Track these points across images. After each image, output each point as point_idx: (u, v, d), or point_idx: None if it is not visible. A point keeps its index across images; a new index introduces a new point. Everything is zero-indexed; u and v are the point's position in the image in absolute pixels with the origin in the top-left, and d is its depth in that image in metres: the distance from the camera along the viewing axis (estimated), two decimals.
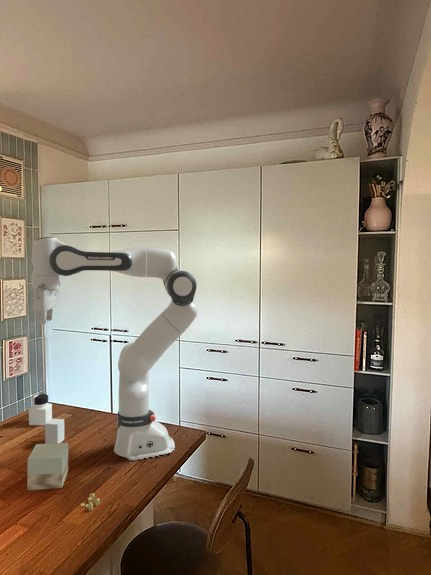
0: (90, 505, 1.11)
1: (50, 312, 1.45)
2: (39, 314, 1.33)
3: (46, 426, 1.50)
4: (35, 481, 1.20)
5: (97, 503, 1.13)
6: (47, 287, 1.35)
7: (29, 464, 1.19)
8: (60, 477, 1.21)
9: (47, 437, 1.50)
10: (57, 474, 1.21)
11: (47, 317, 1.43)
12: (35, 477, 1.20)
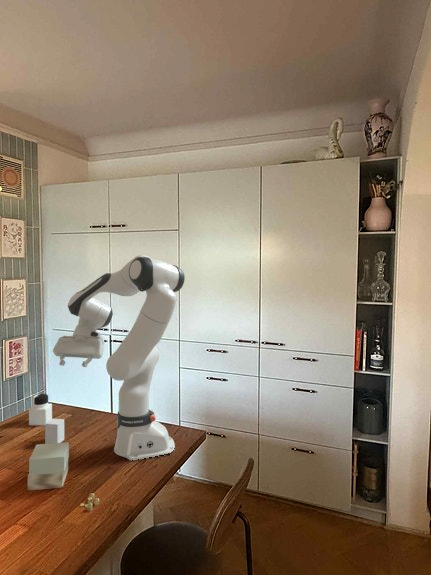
0: (89, 505, 1.11)
1: None
2: None
3: (46, 426, 1.50)
4: (36, 481, 1.20)
5: (97, 503, 1.13)
6: (72, 336, 1.66)
7: (31, 464, 1.19)
8: (60, 477, 1.21)
9: (47, 437, 1.50)
10: (57, 474, 1.21)
11: None
12: (35, 477, 1.20)
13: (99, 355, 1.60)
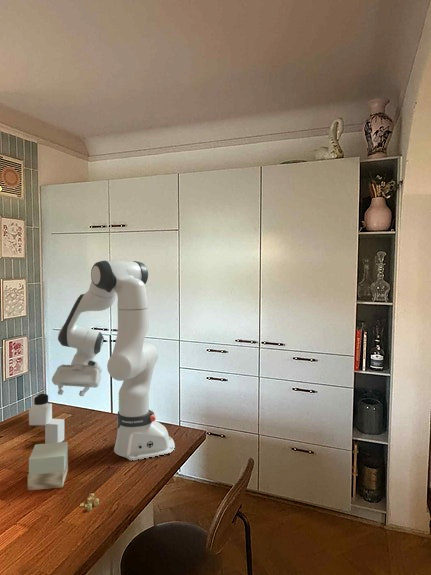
0: (89, 505, 1.11)
1: None
2: None
3: (46, 426, 1.50)
4: (36, 481, 1.20)
5: (96, 503, 1.13)
6: None
7: (30, 464, 1.20)
8: (60, 477, 1.22)
9: (47, 437, 1.50)
10: (57, 474, 1.21)
11: None
12: (35, 477, 1.20)
13: (95, 384, 1.65)
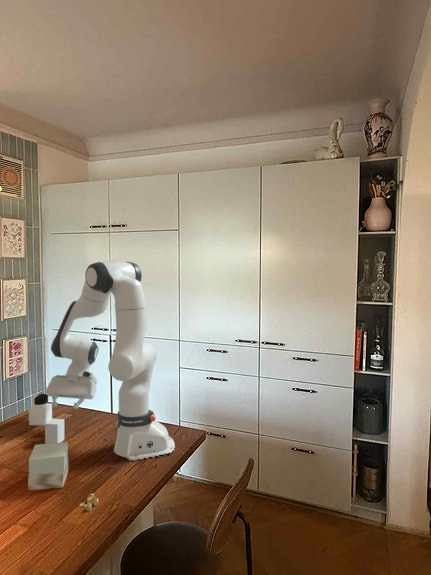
0: (89, 505, 1.11)
1: None
2: None
3: (46, 426, 1.50)
4: (36, 481, 1.20)
5: (96, 503, 1.13)
6: None
7: (31, 464, 1.19)
8: (61, 477, 1.22)
9: (47, 437, 1.50)
10: (58, 474, 1.21)
11: None
12: (35, 477, 1.20)
13: (90, 396, 1.60)
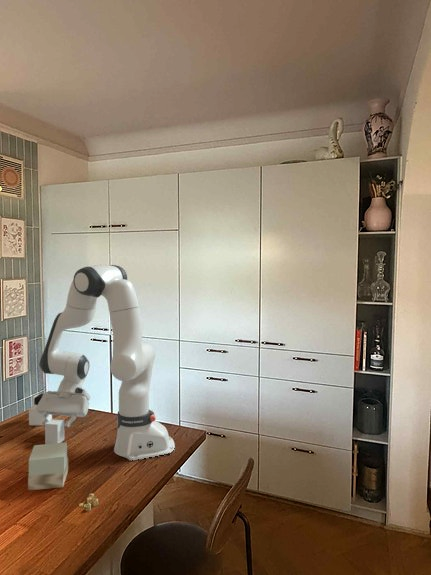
0: (88, 505, 1.11)
1: None
2: None
3: (46, 426, 1.50)
4: (36, 481, 1.20)
5: (95, 503, 1.13)
6: None
7: (30, 465, 1.19)
8: (61, 477, 1.22)
9: (47, 437, 1.50)
10: (58, 474, 1.21)
11: None
12: (35, 477, 1.20)
13: (83, 413, 1.54)
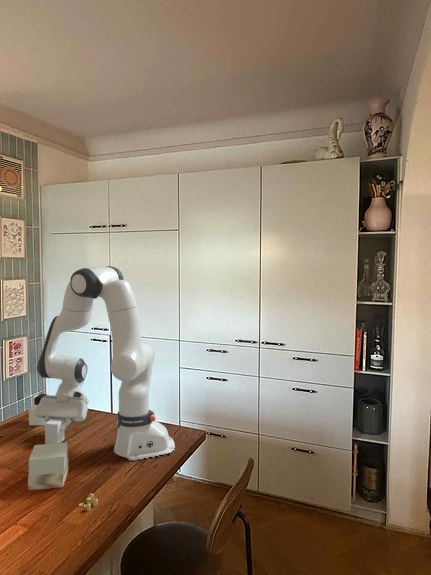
0: (88, 505, 1.11)
1: None
2: None
3: (46, 426, 1.50)
4: (36, 481, 1.20)
5: (95, 504, 1.13)
6: None
7: (30, 465, 1.19)
8: (61, 477, 1.22)
9: (47, 437, 1.50)
10: (58, 474, 1.21)
11: None
12: (35, 477, 1.20)
13: (81, 418, 1.53)
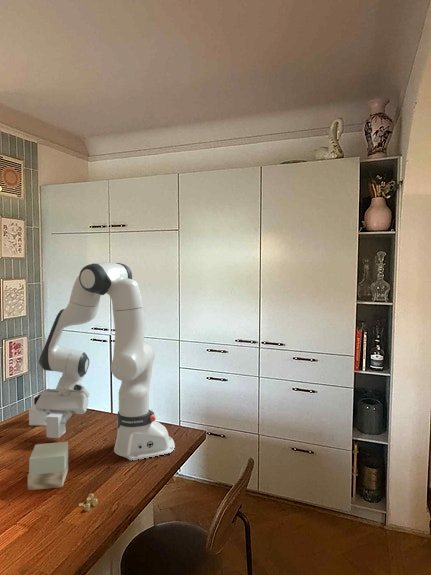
0: (87, 505, 1.11)
1: None
2: None
3: (47, 419, 1.50)
4: (36, 481, 1.20)
5: (95, 504, 1.13)
6: None
7: (31, 464, 1.20)
8: (60, 477, 1.22)
9: (48, 430, 1.50)
10: (57, 474, 1.21)
11: None
12: (35, 477, 1.20)
13: (82, 410, 1.53)
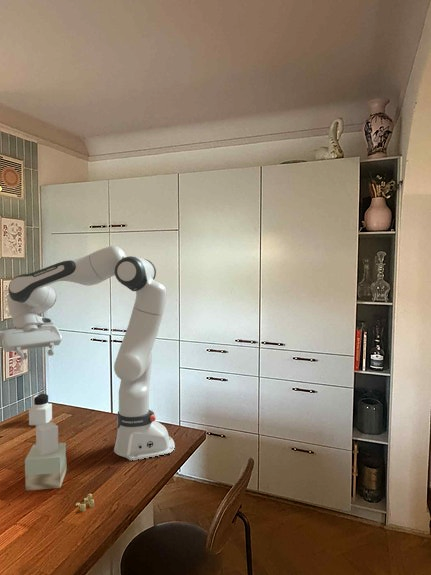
0: (82, 506, 1.11)
1: (51, 347, 1.46)
2: (16, 351, 1.39)
3: (43, 433, 1.21)
4: (34, 481, 1.20)
5: (91, 505, 1.12)
6: (18, 327, 1.43)
7: (27, 464, 1.19)
8: (58, 477, 1.21)
9: (44, 446, 1.22)
10: (55, 474, 1.21)
11: (48, 353, 1.45)
12: (33, 477, 1.20)
13: None
